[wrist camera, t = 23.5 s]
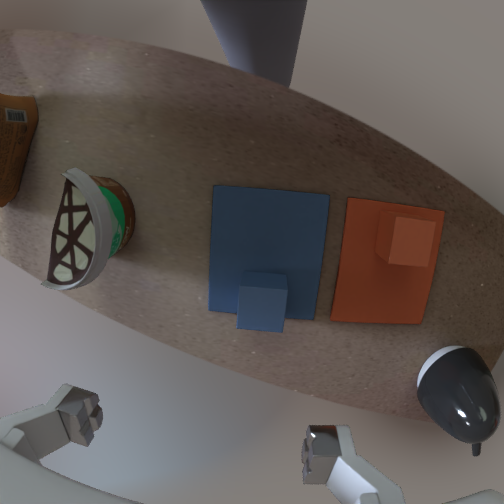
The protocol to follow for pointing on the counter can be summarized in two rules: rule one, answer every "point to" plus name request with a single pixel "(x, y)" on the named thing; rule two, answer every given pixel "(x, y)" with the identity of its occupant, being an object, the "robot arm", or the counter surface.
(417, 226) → the terracotta block
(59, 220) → the food container
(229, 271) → the blue mat
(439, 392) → the pump dispenser
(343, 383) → the counter surface
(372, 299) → the terracotta mat
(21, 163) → the pancake mix bag
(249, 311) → the slate block
